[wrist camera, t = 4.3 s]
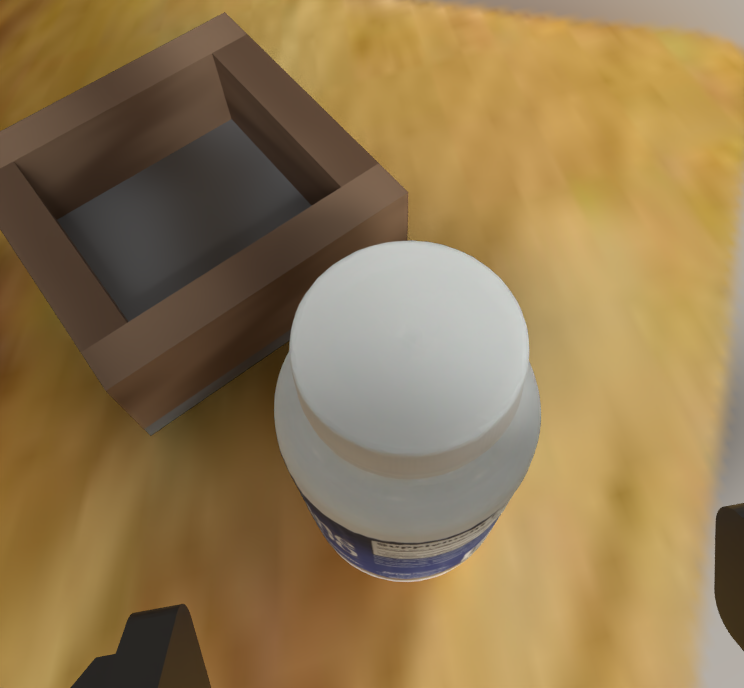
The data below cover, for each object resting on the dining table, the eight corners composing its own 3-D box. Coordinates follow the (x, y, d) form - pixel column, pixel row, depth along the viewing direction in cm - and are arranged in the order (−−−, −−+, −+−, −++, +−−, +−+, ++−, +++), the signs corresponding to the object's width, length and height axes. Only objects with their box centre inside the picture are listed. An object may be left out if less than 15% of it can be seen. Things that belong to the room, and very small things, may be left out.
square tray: (150, 435, 21) (105, 391, 18) (11, 225, 25) (-48, 156, 21) (406, 259, 23) (408, 192, 20) (245, 92, 27) (224, 12, 24)
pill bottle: (293, 427, 21) (218, 246, 12) (461, 382, 22) (505, 175, 13) (336, 611, 19) (282, 547, 10) (524, 555, 19) (630, 447, 10)
